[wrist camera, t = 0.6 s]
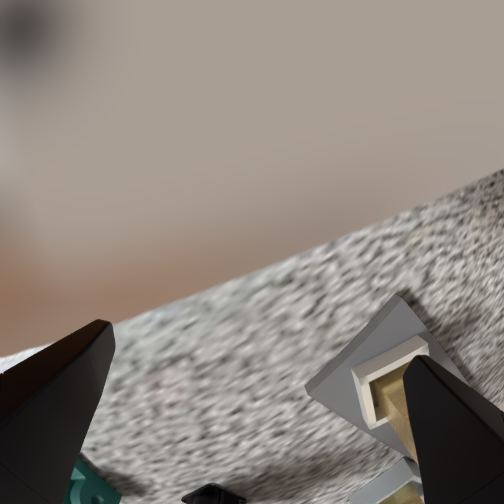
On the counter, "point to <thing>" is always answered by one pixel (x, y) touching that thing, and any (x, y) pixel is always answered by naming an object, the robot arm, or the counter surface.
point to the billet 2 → (404, 496)
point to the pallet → (365, 348)
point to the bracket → (89, 488)
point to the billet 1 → (395, 405)
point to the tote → (389, 483)
